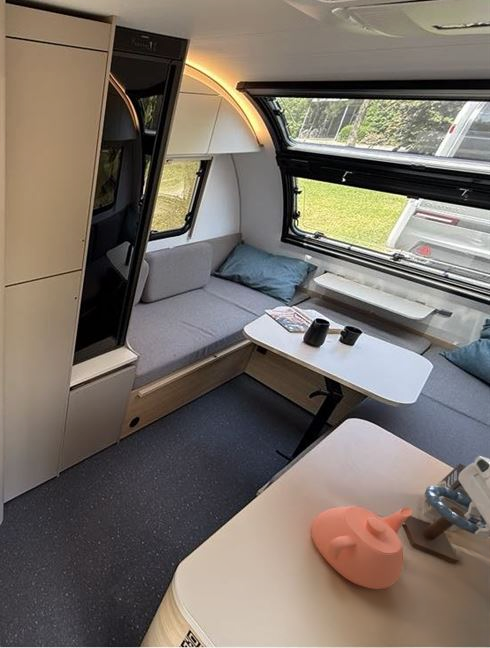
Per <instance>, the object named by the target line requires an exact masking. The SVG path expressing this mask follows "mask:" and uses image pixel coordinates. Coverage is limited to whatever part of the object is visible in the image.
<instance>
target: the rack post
mask: <svg viewBox="0 0 490 648" xmlns="http://www.w3.org/2000/svg"><path fill="white" fill-rule="evenodd" d="M450 510H451V511H452V512H454V513H455V514H457V515H459V516H460V517H462V518H463V517H464V514H463V513H462V512H461V511H460V510H459V509H457V508H454V507H451V508H450ZM452 525H454V524H452V523H451V522H449V521H448V520H446V519H445V518H443V517H442V516H440V517H439V518H438V519H437V520H435V521H433V522H428V521H426V520H423V519H420V518H417V517H414V516H412V515H411V516H410V517H408V518H407V519H406V520H405V521H404V522H403V524H402V525H401V527H402V528H403V530H404V531H403V532H405V535H406V537H407V539H408V542H409V544H410V546H411V547H412V548H415V549H417V550H420V551H423V552H425V553H427V554H431V555H433V556H435V557H437V558H439V559H442V560H445V561H447V562H450V563H452V564H457V563H459V562H460V559H459V557H458V555H457V554H456V552H455V550H454V548H453V546H452V544H451V543H450V540H449V538H448V536H447V535H446V533H445V532H446V531H448V529H449V528H450V527H451V526H452Z"/></svg>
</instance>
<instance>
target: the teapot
mask: <svg viewBox="0 0 490 648" xmlns="http://www.w3.org/2000/svg"><path fill="white" fill-rule="evenodd" d="M412 515H413V510H412V509H411V508H409V507H404V508H401V509H399V510H397V511H396V512H394V513H393V514H391V515H388V516H385V517H383V518H381V517H380V516H378V515H377V514H376V513H374V512H373V511H371V510H369V509H367V508H365V507H360V506H339V507H332V508H329V509H326V510H324V511H322V512H320V513H319V514H317V515H316V516H315V517H314V518H313V519H312V521H311V523H310V524H311V525H310V534H311V538H312V540H313V543H314V545H315V547H316V549H317V550H318V552H319V553H320V555H321V556H322V557H323V558H324V560H325V561H326V562H327V563H328V564H329V565H330V566H331V567H332V568H333V569H334V570H335V571H336V572H337V573H338V574H340V575H341V576H342V577H343V578H345V579H346V580H348V581H349V582H352V583H353V584H356V585H358V586H361V587H365V588H367V589H371V590H372V589H374V590H380V589H381V590H383V589H387V588H389V587H391V586H392V585H394V584H395V583H396V581H398V578H399V577H400V576H401V573H402V571H403V566H404V548H403V543H402V540H401V538H400V537H399V535H398V533H399V531H400V529H401V527H402V524H404V521H405V520H406V519H407V518H408V517H410V516H412Z"/></svg>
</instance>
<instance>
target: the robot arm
mask: <svg viewBox="0 0 490 648" xmlns="http://www.w3.org/2000/svg"><path fill="white" fill-rule="evenodd" d="M458 480H459V481H460V483H461V484H462V486H463V488H464V489H465V491H466V492H467V494H468V495H469V497H470V498H471V500H472V502H471V503H470V505H469V509H468V512H467V513H466V514H464V516H465V518H466V519H467V521H470V522H472V523H475V524H478V525H479V523H481V522H480V521H481V519H480V516H481V515H482V517H483V518H484V520H485V522H486V523H487V524H486V525H485V527H486V528H482V527H480V526H478V525H477V526H475V528H473V531H474V532H475V534H476V535H475V534H474V535H475V536H476V537H479V538H481V539H487V538H489V537H488V536H490V458H488V457H485V456H481V455H479V456H477V457H476V458H475V460H474V462H471V463H469V464H468V465H467V466H466V468H465V469H463V470H462V471H461V472H460V474H459V477H458Z"/></svg>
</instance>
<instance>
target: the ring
mask: <svg viewBox="0 0 490 648" xmlns="http://www.w3.org/2000/svg"><path fill="white" fill-rule="evenodd" d="M439 496H443V497H446V498H449V499H452V500H454V501H456V502H457V503H459V504H461V505H462V506H464V507H466V508H467V509H469V505H470V503H471V502H472V500H471V499H469V498H468V497H466V496H464V495H462V494H461V493H459V492H457V491H454V490H451V489H449V488H446V487H443V486H436V485H429V486H427V487H426V488H425V492H424V498H425V497H426V499H427V501H428V502H429V504H430V505H431V507H432V508H433V509H434V510H436V511H437V512H438V513H439V514H440V515H441V516H442V517H443V518H445V519H446V520H448V521H449V522H451V523H452V524H454V525H456V526H457V527H459V528H458V529H460V530H462V531H465V532H466V533H467V532H468V533H470V534H473V535H475V536H477V535H476V534H475V532H474V531H473V528H475V526H477V525H478V526H480V527H482V528H486V527H485V525H486V524H487V523H486V522H485V520H484V518H483V517H482V515H481V516H480V519H481V521H480V522H479V523H480V524H479V523H477V524H475V523H472V522H470V521H467V520H465V519H464V518H462V517H460V516H459V515H457V514H455V513H454V512H452V511H451V510H450V509H449V508H448V507H447V506H445V505H444V504H443V503H442V501H441V500H440V498H439ZM489 537H490V536H488V537H487V538H489Z"/></svg>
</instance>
